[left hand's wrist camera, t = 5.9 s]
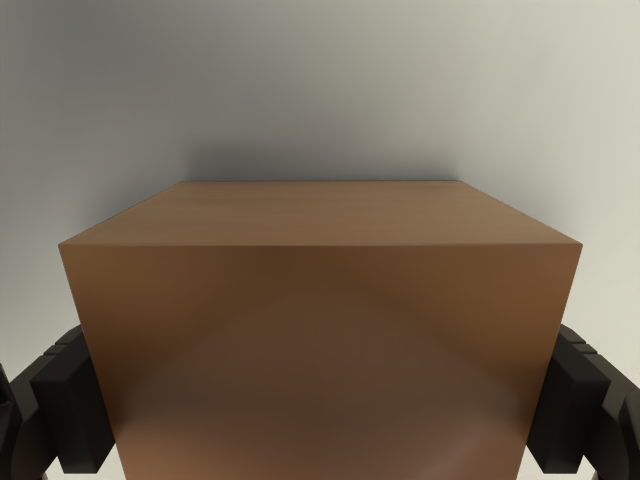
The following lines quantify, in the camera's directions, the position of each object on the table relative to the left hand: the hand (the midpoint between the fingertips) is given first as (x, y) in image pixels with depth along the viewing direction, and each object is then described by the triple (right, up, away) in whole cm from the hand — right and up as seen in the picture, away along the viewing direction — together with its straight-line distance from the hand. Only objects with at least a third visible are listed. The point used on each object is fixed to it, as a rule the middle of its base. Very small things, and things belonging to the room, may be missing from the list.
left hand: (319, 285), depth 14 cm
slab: (0, -30, +12) cm, 33 cm away
